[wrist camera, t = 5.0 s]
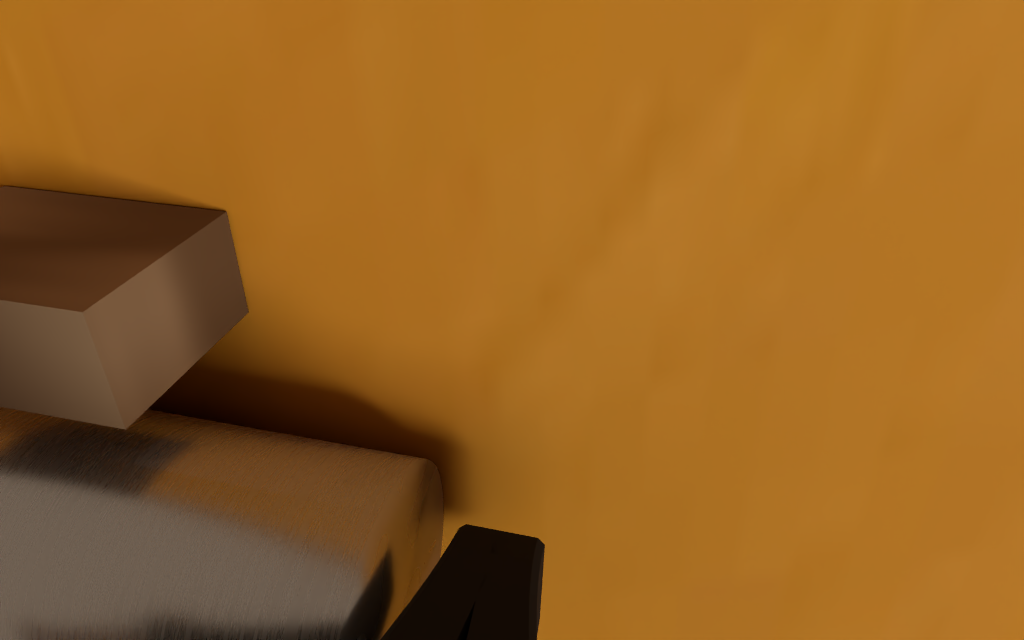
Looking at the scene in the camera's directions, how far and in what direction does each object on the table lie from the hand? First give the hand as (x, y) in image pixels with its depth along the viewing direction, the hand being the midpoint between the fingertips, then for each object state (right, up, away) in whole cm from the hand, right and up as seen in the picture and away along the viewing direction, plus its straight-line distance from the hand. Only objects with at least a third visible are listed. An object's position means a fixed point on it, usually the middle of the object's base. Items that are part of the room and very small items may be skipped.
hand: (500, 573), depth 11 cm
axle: (-7, +2, +3) cm, 8 cm away
